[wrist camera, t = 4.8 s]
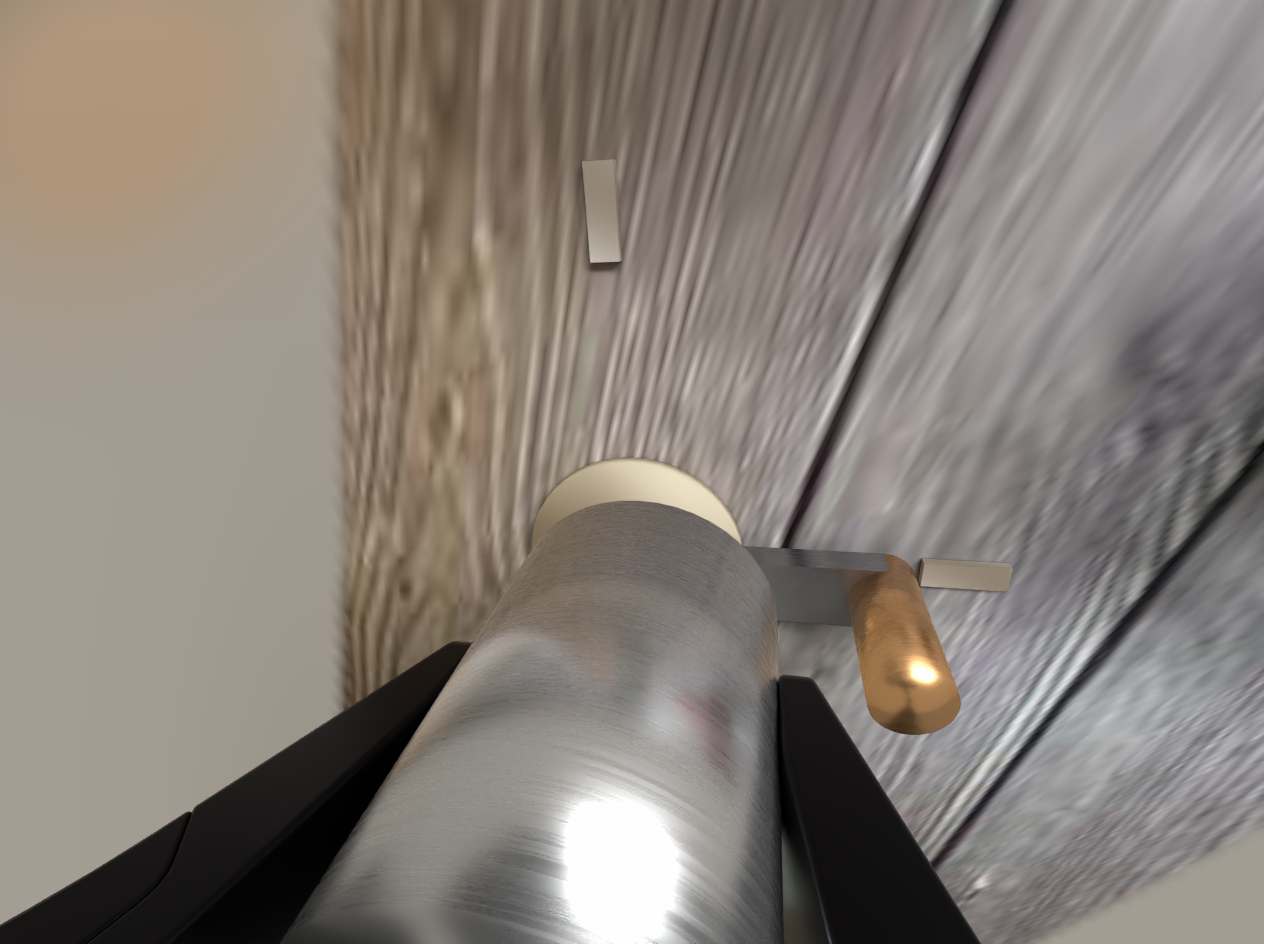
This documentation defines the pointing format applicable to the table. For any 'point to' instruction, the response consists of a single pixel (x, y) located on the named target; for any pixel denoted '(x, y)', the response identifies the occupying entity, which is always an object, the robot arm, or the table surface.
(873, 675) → the crank
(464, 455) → the table surface
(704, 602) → the pin
